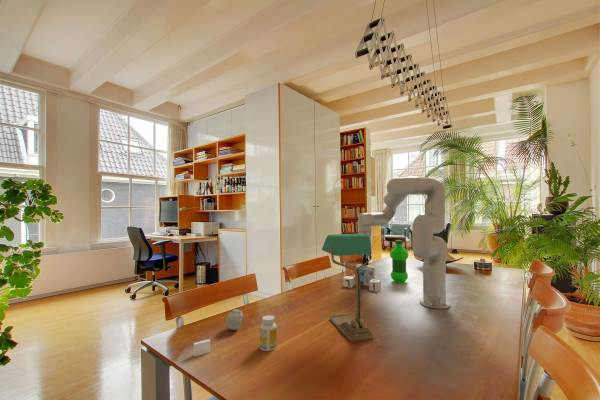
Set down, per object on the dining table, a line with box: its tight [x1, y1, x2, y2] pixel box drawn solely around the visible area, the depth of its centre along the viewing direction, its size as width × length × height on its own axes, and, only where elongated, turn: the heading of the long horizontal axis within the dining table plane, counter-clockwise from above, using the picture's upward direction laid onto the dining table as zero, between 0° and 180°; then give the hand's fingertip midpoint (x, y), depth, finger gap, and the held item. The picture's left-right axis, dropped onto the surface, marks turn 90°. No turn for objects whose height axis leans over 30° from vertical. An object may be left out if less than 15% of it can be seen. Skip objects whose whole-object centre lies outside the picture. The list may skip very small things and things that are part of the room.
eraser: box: [192, 338, 211, 357], centre depth 87 cm, size 1×5×4 cm, turn 124°
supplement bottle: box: [259, 314, 278, 352], centre depth 91 cm, size 5×5×10 cm
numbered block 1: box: [368, 279, 382, 293], centre depth 154 cm, size 5×5×5 cm
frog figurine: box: [224, 308, 244, 331], centre depth 104 cm, size 6×7×7 cm
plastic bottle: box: [389, 239, 409, 284], centre depth 170 cm, size 10×10×25 cm
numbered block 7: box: [342, 275, 356, 288], centre depth 161 cm, size 5×5×5 cm
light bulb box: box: [355, 263, 376, 287], centre depth 166 cm, size 11×7×11 cm, turn 73°
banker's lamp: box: [321, 233, 374, 342], centre depth 106 cm, size 16×21×35 cm
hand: (365, 264), depth 165 cm, fingers closed
